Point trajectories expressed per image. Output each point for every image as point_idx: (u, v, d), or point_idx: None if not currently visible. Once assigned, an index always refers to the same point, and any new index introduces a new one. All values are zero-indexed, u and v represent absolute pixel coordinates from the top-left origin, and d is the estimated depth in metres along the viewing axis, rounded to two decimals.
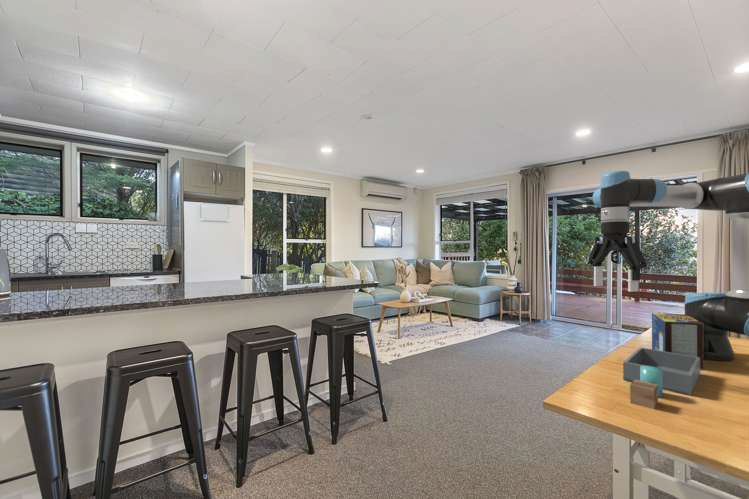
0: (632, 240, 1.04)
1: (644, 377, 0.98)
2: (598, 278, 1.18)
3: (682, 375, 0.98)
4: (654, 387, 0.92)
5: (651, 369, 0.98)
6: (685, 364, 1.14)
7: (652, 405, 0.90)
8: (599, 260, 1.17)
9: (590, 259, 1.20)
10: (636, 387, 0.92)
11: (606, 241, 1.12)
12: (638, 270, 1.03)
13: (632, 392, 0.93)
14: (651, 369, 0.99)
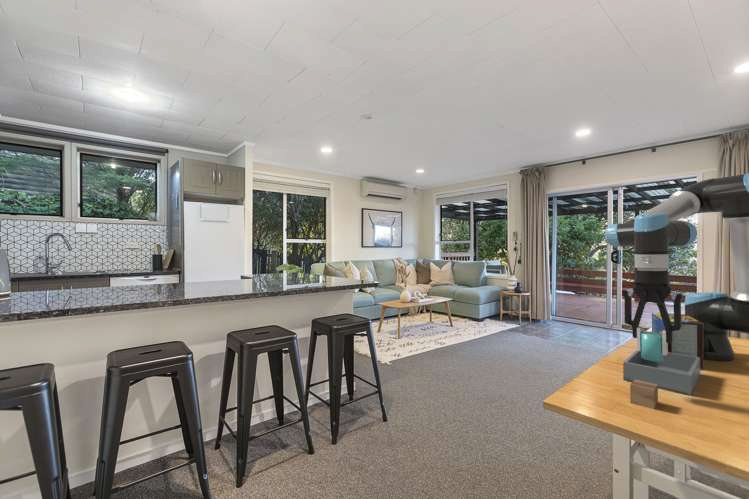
0: (681, 299, 0.94)
1: (645, 342, 0.98)
2: None
3: (682, 375, 0.98)
4: (654, 387, 0.92)
5: (652, 334, 0.98)
6: (685, 364, 1.14)
7: (652, 405, 0.90)
8: (640, 317, 1.00)
9: (627, 318, 1.02)
10: (636, 387, 0.92)
11: (644, 292, 0.98)
12: (672, 332, 0.96)
13: (632, 392, 0.93)
14: (651, 334, 0.98)
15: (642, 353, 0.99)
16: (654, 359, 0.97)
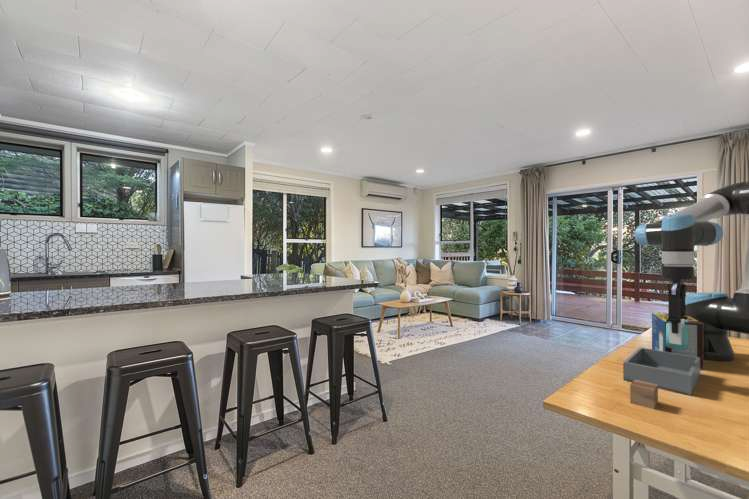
0: (671, 292, 1.03)
1: None
2: None
3: (682, 375, 0.98)
4: (654, 387, 0.92)
5: None
6: (685, 364, 1.14)
7: (652, 405, 0.90)
8: None
9: None
10: (636, 387, 0.92)
11: (669, 285, 1.09)
12: (675, 323, 1.04)
13: (632, 392, 0.93)
14: None
15: None
16: None
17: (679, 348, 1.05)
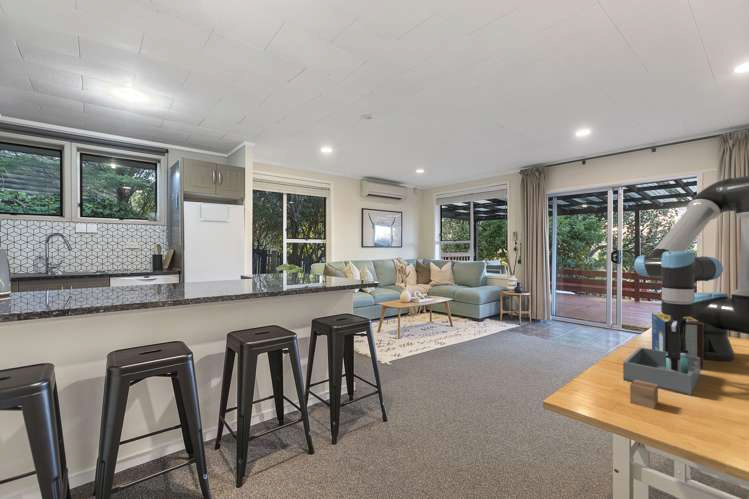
0: (671, 329, 1.03)
1: None
2: None
3: (682, 375, 0.98)
4: (654, 387, 0.92)
5: None
6: None
7: (652, 405, 0.90)
8: None
9: None
10: (636, 387, 0.92)
11: (669, 320, 1.09)
12: (674, 360, 1.04)
13: (632, 392, 0.93)
14: None
15: None
16: None
17: None
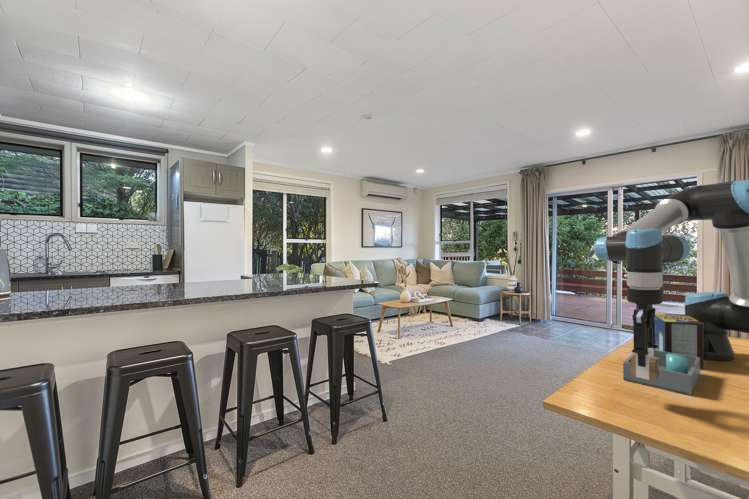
0: (636, 320, 0.89)
1: None
2: None
3: (682, 375, 0.98)
4: (655, 360, 0.92)
5: (673, 355, 1.08)
6: None
7: (653, 378, 0.90)
8: None
9: None
10: None
11: None
12: (641, 355, 0.90)
13: (633, 366, 0.93)
14: (674, 355, 1.08)
15: None
16: None
17: None
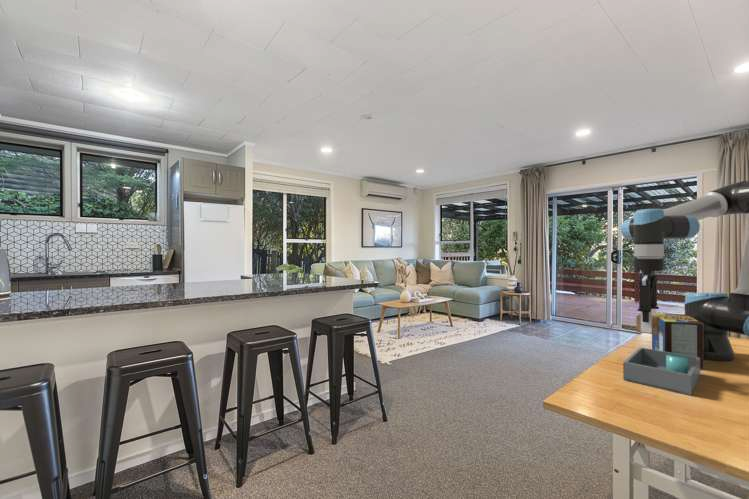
0: (642, 283, 1.08)
1: None
2: None
3: (682, 375, 0.98)
4: (656, 317, 1.11)
5: (673, 355, 1.08)
6: None
7: (655, 331, 1.09)
8: None
9: None
10: None
11: None
12: (645, 312, 1.09)
13: (638, 322, 1.12)
14: (674, 355, 1.08)
15: None
16: None
17: None
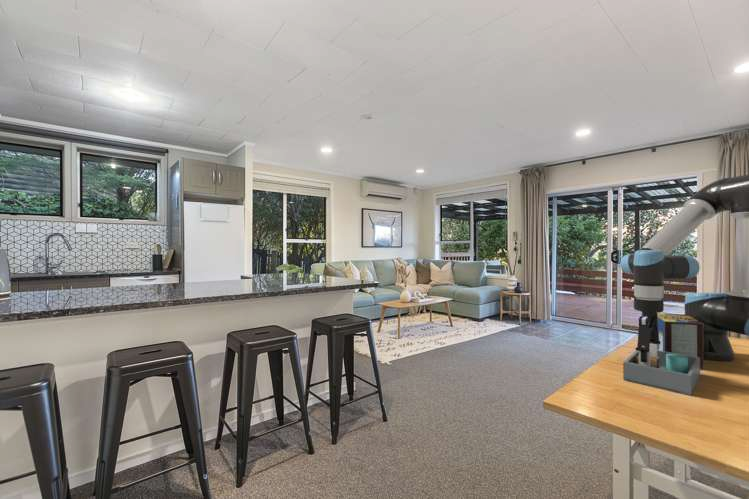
0: (641, 322, 1.08)
1: None
2: None
3: (682, 375, 0.98)
4: (656, 359, 1.11)
5: (673, 355, 1.08)
6: None
7: None
8: None
9: None
10: None
11: None
12: (643, 352, 1.08)
13: (638, 363, 1.13)
14: (674, 355, 1.08)
15: None
16: None
17: None
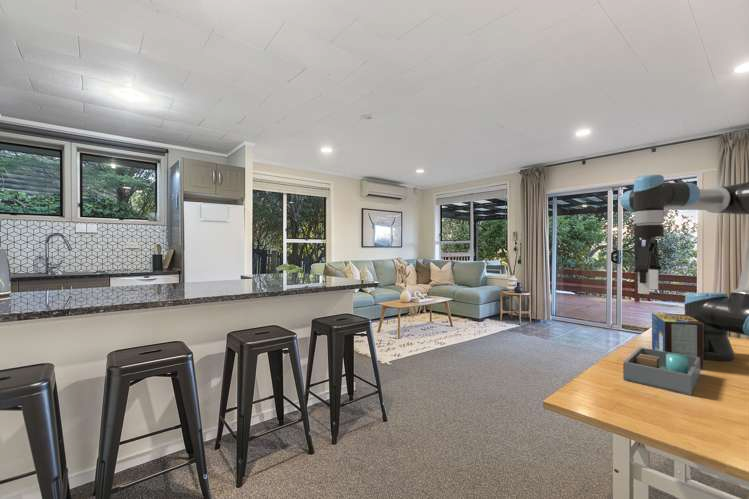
0: (641, 244, 1.08)
1: None
2: (651, 281, 1.17)
3: (682, 375, 0.98)
4: (656, 359, 1.11)
5: (673, 355, 1.08)
6: None
7: None
8: (650, 263, 1.16)
9: None
10: (642, 359, 1.12)
11: None
12: (642, 273, 1.06)
13: (638, 363, 1.13)
14: (674, 355, 1.08)
15: None
16: None
17: None
